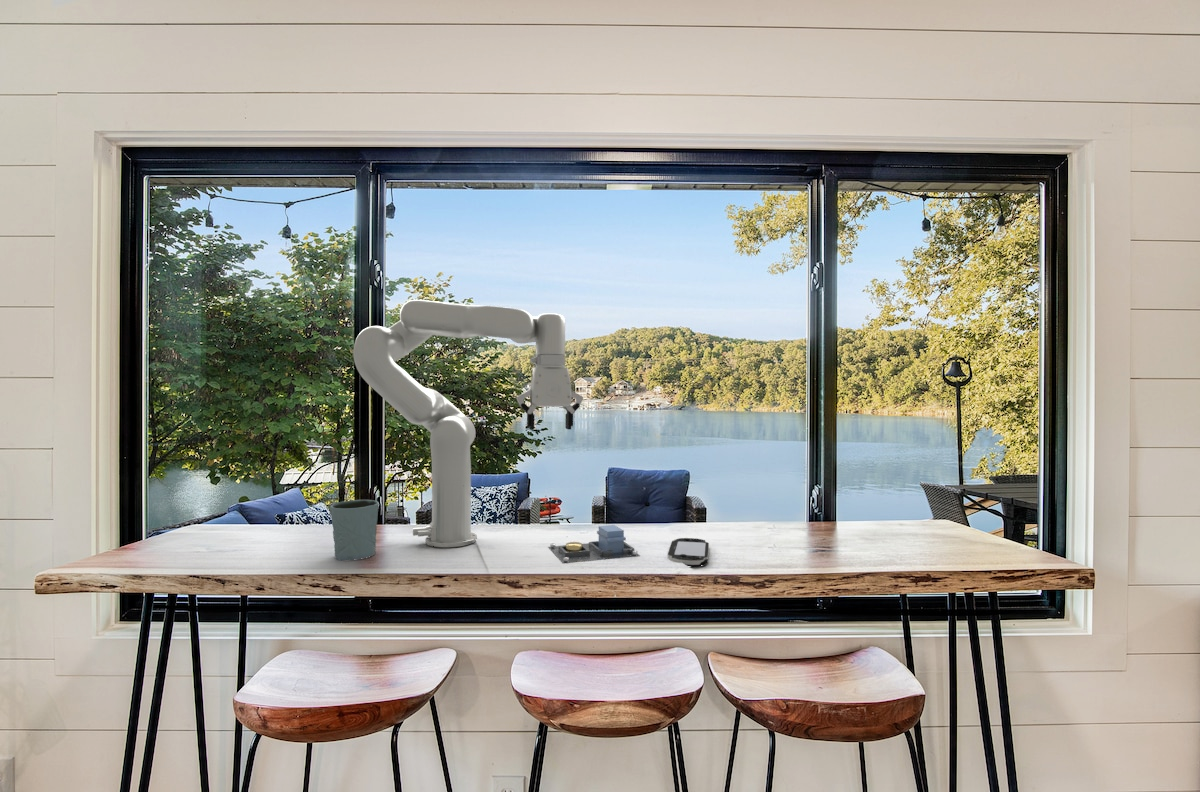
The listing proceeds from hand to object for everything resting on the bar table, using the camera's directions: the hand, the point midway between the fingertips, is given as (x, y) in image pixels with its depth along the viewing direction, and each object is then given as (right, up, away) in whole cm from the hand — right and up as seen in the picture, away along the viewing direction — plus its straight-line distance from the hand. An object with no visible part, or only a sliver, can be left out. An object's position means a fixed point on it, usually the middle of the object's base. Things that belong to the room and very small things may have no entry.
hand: (550, 429), depth 145 cm
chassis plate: (+11, -28, -14) cm, 34 cm away
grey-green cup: (-44, -28, -15) cm, 54 cm away
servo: (+15, -27, -13) cm, 34 cm away
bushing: (+7, -27, -16) cm, 32 cm away
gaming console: (+33, -29, -14) cm, 46 cm away
